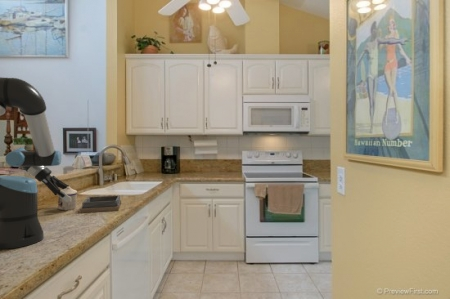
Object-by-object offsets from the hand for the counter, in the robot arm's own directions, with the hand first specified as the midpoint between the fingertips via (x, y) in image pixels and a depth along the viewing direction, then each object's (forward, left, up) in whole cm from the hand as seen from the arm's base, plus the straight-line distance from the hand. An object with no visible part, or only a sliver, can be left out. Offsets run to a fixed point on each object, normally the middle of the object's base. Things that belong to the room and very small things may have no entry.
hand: (72, 198), depth 153 cm
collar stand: (-2, -15, -6) cm, 16 cm away
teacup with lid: (0, +3, -5) cm, 6 cm away
